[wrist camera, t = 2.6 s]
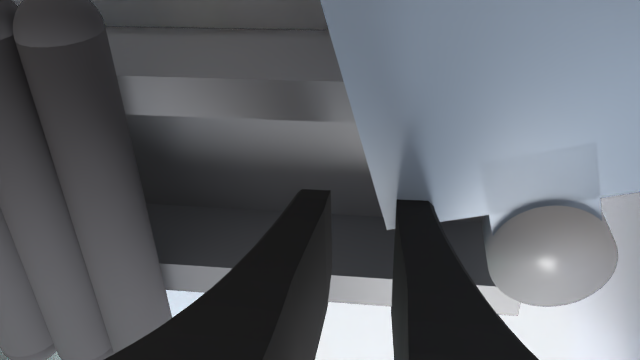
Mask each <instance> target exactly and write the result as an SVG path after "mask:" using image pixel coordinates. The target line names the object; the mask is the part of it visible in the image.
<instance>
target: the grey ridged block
mask: <svg viewBox="0 0 640 360" xmlns="http://www.w3.org/2000/svg"><path fill="white" fill-rule="evenodd" d="M171 318H172V316H171V311H170V307H169V303H168V298H167V294H166V290H165V285H164V281H163V276H162V272H161V268H160V263H159V259H158V255H157V250H156V246H155V242H154V237H153V233H152V228H151V224H150V220H149V215H148V211H147V207H146V202H145V198H144V193H143V189H142V185H141V180H140V176H139V172H138V167H137V163H136V158H135V154H134V150H133V145H132V141H131V137H130V132H129V128H128V124H127V119H126V115H125V110H124V106H123V102H122V97H121V93H120V89H119V84H118V80H117V75H116V71H115V67H114V62H113V58H112V54H111V49H110V45H109V41H108V36H107V32H106V27H105V24H104V21H103V18H102V16H101V14H100V12H99V11H98V9H97V8H96V7H95V6H94V4H93V3H92V2H91V1H90V0H23V1H22V3H21V4H20V5H19V7H18V6H17V5H16V4H15V3H14V2H13V1H12V0H0V348H1V350H2V351H3V353H4V354H5V355H6V356H7V357H8V358H9V359H11V360H46V359H48V358H49V357H51V356H52V355H53V354H54V353H55V352H56V351H57V353H58V355H59V357H60V358H61V360H104V359H106V358H107V357H109V356H111V355H113V354H115V353H117V352H118V351H120V350H122V349H124V348H125V347H127V346H129V345H131V344H133V343H134V342H136V341H138V340H139V339H141V338H143V337H144V336H146V335H147V334H149V333H151V332H152V331H154V330H155V329H157V328H159V327H160V326H161V325H163V324H164V323H166V322H167V321H169V320H170V319H171Z"/></svg>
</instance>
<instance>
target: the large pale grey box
mask: <svg viewBox="0 0 640 360" xmlns="http://www.w3.org/2000/svg"><path fill="white" fill-rule="evenodd" d="M106 32H107V36H108V41H109V45H110V49H111V54H112V58H113V62H114V67H115V71H116V75H117V80H118V84H119V89H120V93H121V97H122V102H123V106H124V110H125V115H126V119H127V124H128V128H129V132H130V137H131V141H132V145H133V150H134V154H135V158H136V163H137V167H138V172H139V176H140V180H141V185H142V189H143V193H144V198H145V202H146V207H147V211H148V215H149V220H150V224H151V228H152V233H153V237H154V242H155V246H156V250H157V255H158V259H159V263H160V268H161V272H162V276H163V281H164V285H165V290H177V291H191V292H204V293H206V292H207V291H208V290H209V289H211V288H212V287H213V286H214V285H215V284H216V283H217V282H218V281H220V280H221V279H222V278H223V277H224V276H225V275H226V274H227V273H228V272H229V271H230V270H231V269H232V268H233V267H234V266H235V265H236V264H237V263H238V262H239V261H240V260H241V259H242V258H243V257H244V256H245V255H246V254H247V253H248V252H249V251H250V250H251V249H252V248H253V247H254V246H255V245H256V243H257V242H258V241H259V240H260V239H261V238H262V237H263V235H264V234H265V233H266V232H267V231H268V230H269V229H270V227H271V226H272V225H273V224H274V223H275V221H276V220H277V219H278V218H279V216H280V215H281V214H282V213H283V211H284V210H285V209H286V207H287V206H288V205H289V203H290V202H291V201H292V199H293V198H294V197H295V195H296V194H297V193H298V192H299V191H300V190H301V189H311V190H331V226H332V273H331V282H330V290H329V298H328V302H338V303H351V304H365V305H378V306H391V305H392V281H393V259H394V239H395V229H390V230H387V228H386V225H385V222H384V218H383V215H382V211H381V208H380V204H379V201H378V198H377V194H376V191H375V187H374V184H373V180H372V177H371V174H370V170H369V167H368V163H367V160H366V156H365V153H364V150H363V146H362V143H361V139H360V136H359V132H358V129H357V126H356V122H355V119H354V115H353V112H352V108H351V105H350V102H349V98H348V95H347V91H346V88H345V84H344V81H343V78H342V74H341V71H340V67H339V64H338V60H337V57H336V54H335V50H334V47H333V43H332V40H331V36H330V33H329V30H289V29H227V28H165V27H106ZM483 218H484V216H477V217H470V218H464V219H457V220H450V221H444V222H440V223H441V226H442V228H443V230H444V232H445V234H446V236H447V238H448V240H449V242H450V244H451V245H452V247H453V249H454V251H455V252H456V254H457V256H458V258H459V259H460V261H461V263H462V264H463V266H464V268H465V269H466V271H467V272H468V274H469V276H470V277H471V279H472V280H473V281H474V283H475V284H476V286H477V287H478V289H479V290H480V292H481V293H482V295H483V296H484V297H485V299H486V300H487V301H488V303H489V304H490V305H491V307H492V308H493V309H494V311H495V312H496V313H497V314H499V315H512V316H518V312H519V308H520V303H521V302H518V301H516V300H514V299H512V298H510V297H508V296H507V295H505V294H504V293H503V292H502V291H500V290H499V289H498V288H497V286H496V285H495V284H494V282H493V281H492V279H491V277H490V274H489V270H488V264H487V257H486V251H485V244H484V237H483V229H482V224H483Z"/></svg>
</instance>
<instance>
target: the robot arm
mask: <svg viewBox="0 0 640 360" xmlns="http://www.w3.org/2000/svg"><path fill="white" fill-rule="evenodd" d="M331 273H332V226H331V190H311V189H301V190H300V191H299V192H298V193H297V194H296V195H295V197H294V198H293V199H292V201H291V202H290V203H289V205H288V206H287V207H286V209H285V210H284V211H283V213H282V214H281V215H280V216H279V218H278V219H277V220H276V221H275V223H274V224H273V225H272V226H271V227H270V229H269V230H268V231H267V232H266V233H265V234H264V235H263V237H262V238H261V239H260V240H259V241H258V242H257V243H256V245H255V246H254V247H253V248H252V249H251V250H250V251H249V252H248V253H247V254H246V255H245V256H244V257H243V258H242V259H241V260H240V261H239V262H238V263H237V264H236V265H235V266H234V267H233V268H232V269H231V270H230V271H229V272H228V273H227V274H226V275H225V276H224V277H223V278H222V279H221V280H220V281H218V282H217V283H216V284H215V285H214V286H213V287H212V288H211V289H209V290H208V291H207V292H206V293H204V294H203V295H202V296H201V297H200V298H198V299H197V300H196V301H195V302H193V303H192V304H191V305H189V306H188V307H187V308H185V309H184V310H183V311H181V312H180V313H179V314H177V315H176V316H174V317H173V318H171V319H170V320H169V321H167V322H166V323H164V324H163V325H161V326H160V327H159V328H157V329H155V330H154V331H152V332H151V333H149V334H147V335H146V336H144V337H143V338H141V339H139V340H138V341H136V342H134V343H133V344H131V345H129V346H127V347H125V348H124V349H122V350H120V351H118V352H117V353H115V354H113V355H111V356H109V357H107V358H106V359H104V360H315V356H316V352H317V348H318V344H319V340H320V336H321V332H322V328H323V323H324V319H325V315H326V311H327V306H328V298H329V290H330V282H331ZM391 316H392V332H393V347H394V360H539V359H538V358H537V357H536V356H535V355H534V354H533V353H532V352H531V351H529V350H528V349H527V348H526V347H525V345H524V344H523V343H522V342H521V341H520V340H519V339H518V338H517V337H516V335H515V334H514V333H513V332H512V331H511V330H510V329H509V328H508V326H507V325H506V324H505V323H504V322H503V320H502V319H501V318H500V317H499V315H498V314H497V313H496V312H495V311H494V309H493V308H492V307H491V305H490V304H489V303H488V301H487V300H486V299H485V297H484V296H483V295H482V293H481V292H480V290H479V289H478V287H477V286H476V284H475V283H474V281H473V280H472V279H471V277H470V276H469V274H468V272H467V271H466V269H465V268H464V266H463V264H462V263H461V261H460V259H459V258H458V256H457V254H456V252H455V251H454V249H453V247H452V245H451V244H450V242H449V240H448V238H447V236H446V234H445V232H444V230H443V228H442V226H441V223H440V221H439V219H438V217H437V214H436V211H435V209H434V206H433V205H432V204H431V203H430V202H429V201H424V200H400V199H397V203H396V222H395V239H394V259H393V281H392V305H391Z"/></svg>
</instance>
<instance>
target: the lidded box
mask: <svg viewBox="0 0 640 360" xmlns="http://www.w3.org/2000/svg"><path fill="white" fill-rule="evenodd" d="M320 2H321V6H322V9H323V12H324V16H325V19H326V23H327V26H328V30H329V33H330V36H331V40H332V43H333V47H334V50H335V54H336V57H337V60H338V64H339V67H340V71H341V74H342V78H343V81H344V84H345V88H346V91H347V95H348V98H349V102H350V105H351V108H352V112H353V115H354V119H355V122H356V126H357V129H358V132H359V136H360V139H361V143H362V146H363V150H364V153H365V156H366V160H367V163H368V167H369V170H370V174H371V177H372V180H373V184H374V187H375V191H376V194H377V198H378V201H379V204H380V208H381V211H382V215H383V218H384V222H385V225H386V228H387V230H390V229H395V222H396V203H397V199H400V200H424V201H429V202H430V203H431V204H432V205H433V206H434V209H435V211H436V214H437V217H438V219H439V221H440V222H444V221H450V220H457V219H464V218H470V217H477V216H484V218H483V224H482V229H483V237H484V244H485V251H486V257H487V264H488V270H489V274H490V277H491V279H492V281H493V282H494V284H495V285H496V286H497V288H498V289H499V290H500V291H502V292H503V293H504V294H505V295H507V296H508V297H510V298H512V299H514V300H516V301H518V302H521V303H524V304H528V305H533V306H543V307H551V306H561V305H567V304H571V303H574V302H577V301H580V300H582V299H584V298H587V297H588V296H590V295H592V294H594V293H595V292H596V291H598V290H599V289H600V288H601V287H603V286H604V285H605V284H606V283H607V281H608V280H609V279H610V278H611V276H612V274H613V273H614V270H615V268H616V265H617V260H618V251H617V246H616V243H615V240H614V238H613V236H612V233H611V231H610V229H609V226H608V224H607V222H606V219H605V217H604V215H603V213H602V210H601V198H604V197H610V196H617V195H624V194H630V193H637V192H640V0H320Z"/></svg>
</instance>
